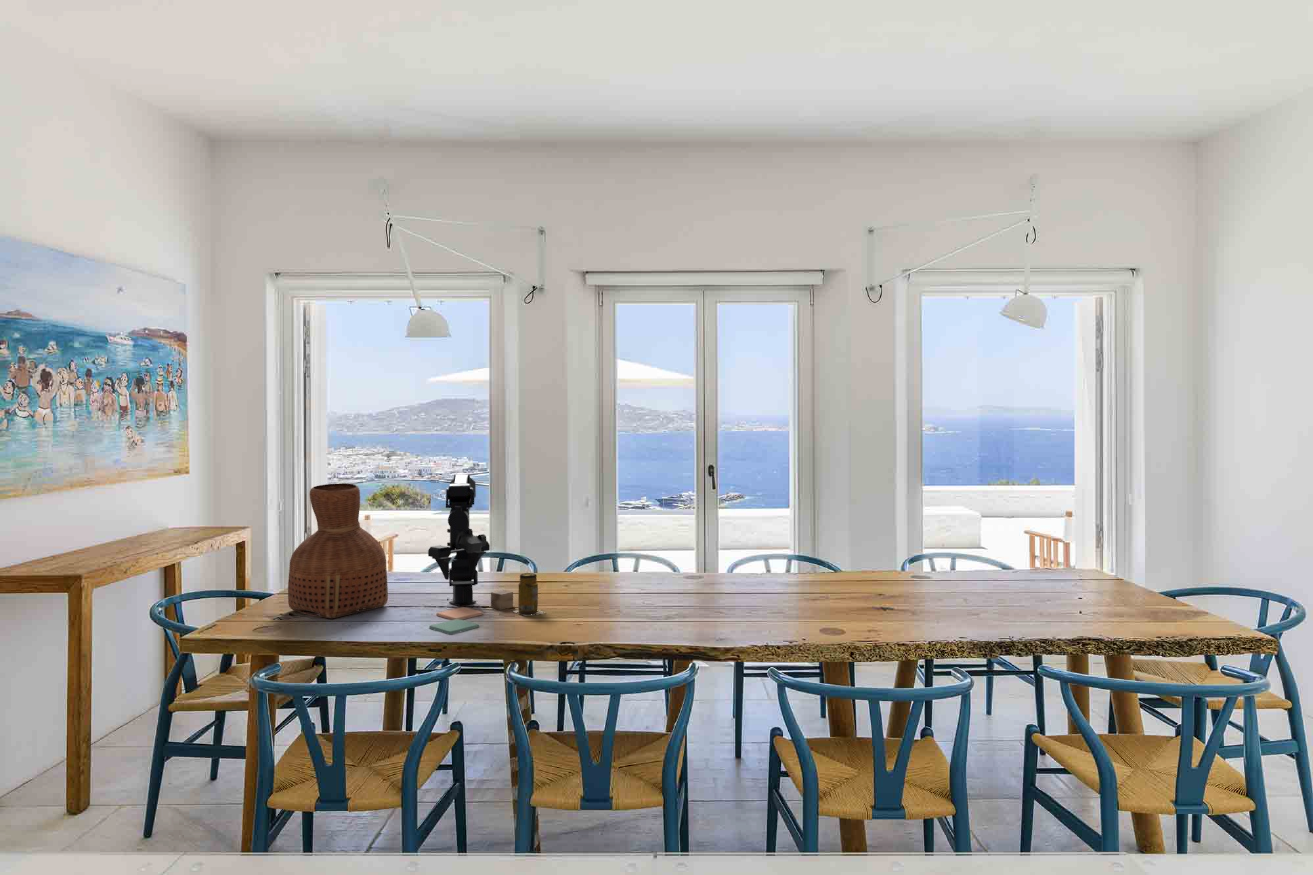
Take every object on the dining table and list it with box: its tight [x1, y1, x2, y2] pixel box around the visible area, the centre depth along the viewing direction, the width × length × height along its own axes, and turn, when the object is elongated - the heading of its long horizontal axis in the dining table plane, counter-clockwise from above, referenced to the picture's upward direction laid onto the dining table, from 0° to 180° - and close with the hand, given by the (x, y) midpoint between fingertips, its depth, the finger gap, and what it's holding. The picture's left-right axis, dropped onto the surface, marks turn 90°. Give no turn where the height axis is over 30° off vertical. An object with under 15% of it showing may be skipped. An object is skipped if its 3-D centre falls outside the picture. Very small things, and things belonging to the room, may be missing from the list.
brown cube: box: [490, 589, 514, 611], centre depth 247 cm, size 5×5×5 cm
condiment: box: [512, 572, 546, 617], centre depth 240 cm, size 7×8×12 cm
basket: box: [287, 482, 389, 619], centre depth 244 cm, size 28×28×40 cm
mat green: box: [429, 619, 480, 635], centre depth 222 cm, size 10×10×1 cm
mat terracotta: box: [435, 606, 484, 621], centre depth 237 cm, size 10×10×1 cm
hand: (459, 577), depth 230 cm, fingers open, 9 cm apart
